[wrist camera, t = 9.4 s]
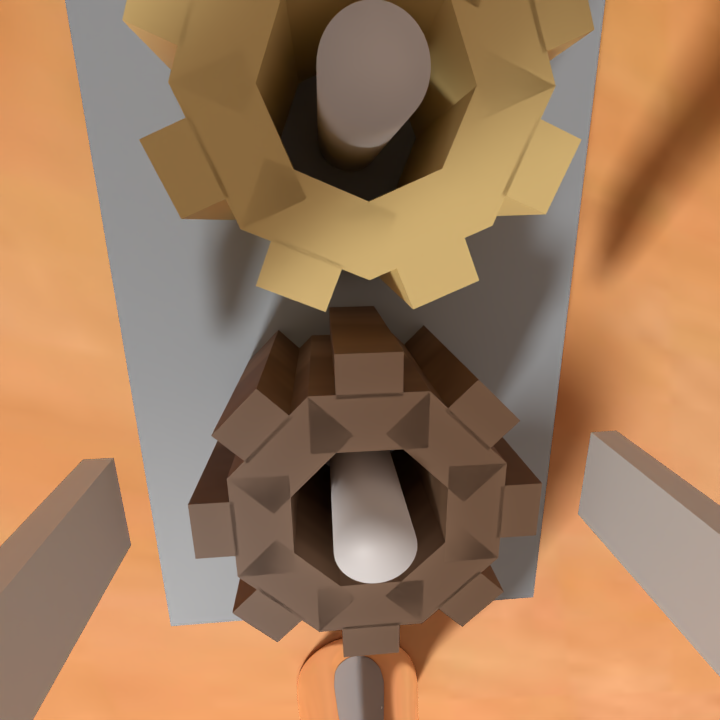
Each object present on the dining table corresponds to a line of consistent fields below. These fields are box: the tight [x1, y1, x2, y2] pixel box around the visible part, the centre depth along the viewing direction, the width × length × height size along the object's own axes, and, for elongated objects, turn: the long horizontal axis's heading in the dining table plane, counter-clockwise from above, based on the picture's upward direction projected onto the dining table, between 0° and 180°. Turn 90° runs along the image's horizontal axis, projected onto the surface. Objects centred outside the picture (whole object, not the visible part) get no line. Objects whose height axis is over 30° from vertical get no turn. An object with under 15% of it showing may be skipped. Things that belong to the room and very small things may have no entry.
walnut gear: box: [188, 306, 542, 657], centre depth 15 cm, size 9×9×6 cm
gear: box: [122, 0, 595, 312], centre depth 12 cm, size 9×9×6 cm
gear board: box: [65, 0, 605, 626], centre depth 13 cm, size 28×16×8 cm, turn 1°
